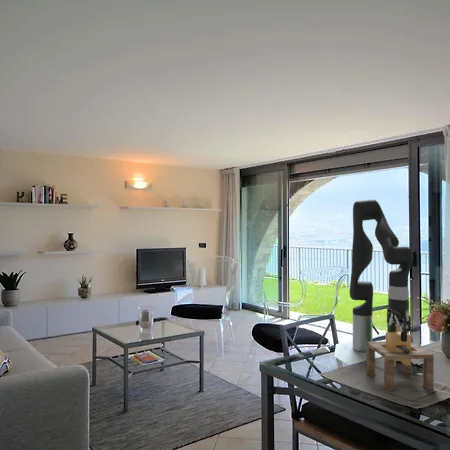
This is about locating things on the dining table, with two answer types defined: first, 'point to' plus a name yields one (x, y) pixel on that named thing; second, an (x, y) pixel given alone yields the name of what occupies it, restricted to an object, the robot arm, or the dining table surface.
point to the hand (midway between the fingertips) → (398, 338)
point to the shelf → (391, 356)
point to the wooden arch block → (394, 340)
